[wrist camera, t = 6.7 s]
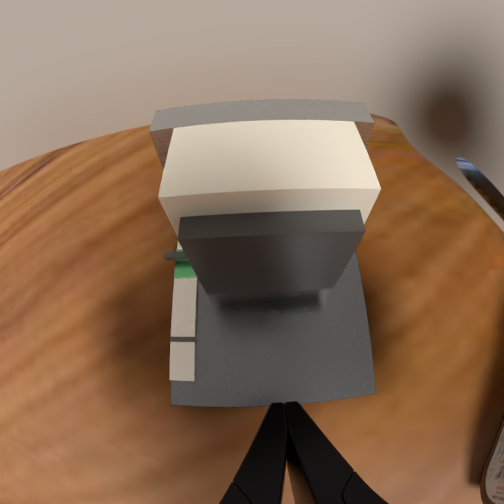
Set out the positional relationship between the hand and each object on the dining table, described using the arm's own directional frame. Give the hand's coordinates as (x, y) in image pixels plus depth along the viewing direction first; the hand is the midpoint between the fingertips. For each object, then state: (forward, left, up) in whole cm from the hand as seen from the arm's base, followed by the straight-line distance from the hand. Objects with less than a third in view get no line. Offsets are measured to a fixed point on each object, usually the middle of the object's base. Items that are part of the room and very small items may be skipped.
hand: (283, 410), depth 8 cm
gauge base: (+4, +6, -8) cm, 11 cm away
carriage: (+4, +8, -7) cm, 11 cm away
